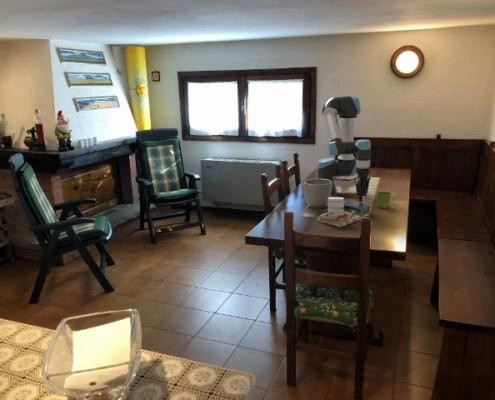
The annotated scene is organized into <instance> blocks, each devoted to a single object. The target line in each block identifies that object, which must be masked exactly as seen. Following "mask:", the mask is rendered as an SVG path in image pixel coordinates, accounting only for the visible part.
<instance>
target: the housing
mask: <svg viewBox="0 0 495 400" xmlns="http://www.w3.org/2000/svg"><path fill="white" fill-rule="evenodd" d="M346 208H352V209H357V210H361V215H364V214H366V213H369V212H370V211H371V204H368V203H365V204H364V203H359V201H358V202H357V201H354V200H349V199H347V200H344V209H346ZM370 213H371V212H370Z"/></svg>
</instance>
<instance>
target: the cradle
mask: <svg viewBox="0 0 495 400" xmlns="http://www.w3.org/2000/svg"><path fill="white" fill-rule="evenodd" d="M365 216H367V217H369V216H371V212H369V213H366V214H364V215H361V210H357V209H352V208H346V209H344V218H341V219H339V220H337V219H333V218H329V217H328V212H325V213H323V214H320V215H319V217H317V218H316V221H317V222H319V223H324V224H326V223H327V224H326V225H330V226H333V225H334V226H333V227H337V228H342V226H343V227H344V226H347V224H348V225H350V224H352V223H355V222H357V221H359V220H362V219H363V218H362V217H365ZM361 218H362V219H361ZM365 218H366V217H365Z"/></svg>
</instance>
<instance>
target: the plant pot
mask: <svg viewBox="0 0 495 400" xmlns="http://www.w3.org/2000/svg"><path fill="white" fill-rule="evenodd" d="M392 195H393V193H392V192H389V191H376V192H375V196H376V200H377V201H376V202H377V208H380V209H387V208H389V205H390V200H391V197H392Z"/></svg>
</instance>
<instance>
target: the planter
mask: <svg viewBox="0 0 495 400" xmlns="http://www.w3.org/2000/svg"><path fill="white" fill-rule="evenodd" d="M331 192H332V181H331V180H328V179H317V178H309V179H306V180H304V181H303V194H304V195H303V196H304V200H305V202H306V204H307V205H309V207H310V208H312V209H315V210H317V209H318V210H319V209H324V208H325V207H326V206H328V197H332V194H331Z"/></svg>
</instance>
